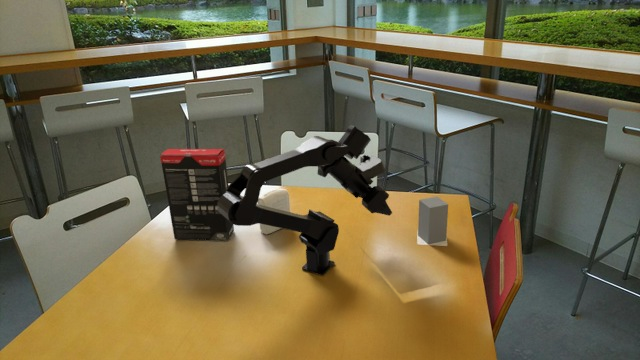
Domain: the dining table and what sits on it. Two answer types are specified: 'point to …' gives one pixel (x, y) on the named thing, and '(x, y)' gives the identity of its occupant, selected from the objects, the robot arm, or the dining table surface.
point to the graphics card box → (196, 193)
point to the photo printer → (274, 205)
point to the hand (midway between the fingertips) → (382, 207)
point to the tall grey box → (432, 220)
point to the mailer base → (422, 242)
